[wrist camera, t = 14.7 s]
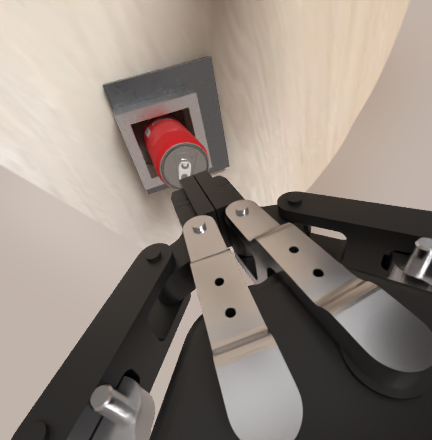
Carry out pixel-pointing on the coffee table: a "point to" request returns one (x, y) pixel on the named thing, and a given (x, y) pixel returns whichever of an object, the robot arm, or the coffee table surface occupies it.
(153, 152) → the beverage can
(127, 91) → the jig
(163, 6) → the coffee table surface
